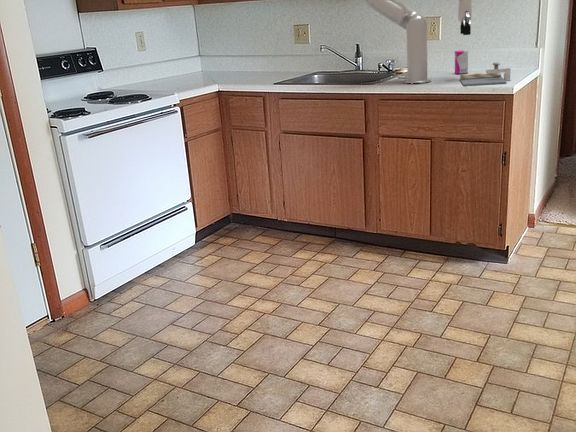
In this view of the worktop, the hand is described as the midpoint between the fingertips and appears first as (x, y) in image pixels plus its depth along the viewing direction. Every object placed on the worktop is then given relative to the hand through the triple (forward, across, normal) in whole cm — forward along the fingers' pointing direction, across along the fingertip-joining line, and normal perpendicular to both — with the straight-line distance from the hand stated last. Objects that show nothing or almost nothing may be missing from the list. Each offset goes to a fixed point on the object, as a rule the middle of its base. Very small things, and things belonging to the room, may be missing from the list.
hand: (465, 34), depth 290 cm
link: (+20, +5, +6) cm, 21 cm away
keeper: (+21, +13, +13) cm, 28 cm away
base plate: (+21, +12, +6) cm, 25 cm away
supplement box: (+21, -21, +1) cm, 30 cm away
